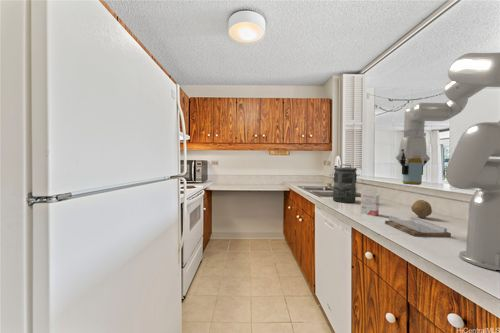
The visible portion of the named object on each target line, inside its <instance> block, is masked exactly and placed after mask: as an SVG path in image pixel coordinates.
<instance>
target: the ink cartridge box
mask: <svg viewBox="0 0 500 333" xmlns="http://www.w3.org/2000/svg"><path fill="white" fill-rule="evenodd" d="M379 208H380V194H377V189H371V188H361V193H360V214H363V215H367V216H368V215H370V216H374V217H376V216H379V213H380V212H379V211H380V210H379Z"/></svg>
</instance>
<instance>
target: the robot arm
mask: <svg viewBox="0 0 500 333" xmlns="http://www.w3.org/2000/svg"><path fill="white" fill-rule="evenodd" d="M447 76H448V79H449V81H448V82H447V83H446V84H445V86H444V89H443V91H444V95H445V96H446V98H447V99H449V100H447V101H445V102H419V103H417V104H415V105H413V106H412V107H409V108H407V109H405V110H404V118H403V119H404V124H403V126H404V127H403V128H404V129H403V137H402V138H401V140H400V144H399V151H398V154H397V156H395V159H396V160H397V162H398V163H399V164H400V166H401V175H403V174H405V175H408V168H409V166H407V165H408V161H409V160H410V159H412V157H413V156H412V155H413V151H421V160H422V176H423V175H424V167H426V166H425V165H426V164H427V163H428V161H430V160H431V157H430V156H429V155H428V154H427V153H428V152H427V151H428V150H427V141H426V138H425V136H426V135H427V134H426V132H425V122H444V121H445V122H446V121H448V120H450V119H452V118H453V117H455V116H457V115H458V114H460V113H462V112H463V110H464V109H465V107H467V104H468V101H469V99H470V98H471V97H473V96H475V95H476V94H478V93H479V92H481V91H482V90H484V89H486V88H500V52H467V53H465V54H462V55H461V56H458V57H457V58H456V59H455V60H453V62H452V63H451V64H450V66H449V69H448V72H447ZM492 157H493V158H492ZM405 158H406V159H405ZM405 160H406V161H405ZM445 178H446V181H447V183H448V184H449V185H450V186H451V187H453V188H455V189H458V190H468V191H469V190H470V191H471V190H472V191H475V192H474V193H473V194H472V195H471V197H470V200H469V205H468V207H469V208H468V220H467V234H466V236H467V237H466V248H465V250H462V251H460V252H459V254H458V256H459V258H460V259H462V260H464V261H465V262H467V263H469V264H472V265H474V266H477V267H480V268H485V269H488V270H492V271H496V270H500V120H498V121H497V122H495V121H492V122H491V121H485V122H479V123H475V124H473V125H471V126H469V127H468V128H467V129H465V131H464V132H463V133H462V134H461V136H460V138H459V140H458V142H457V144H456V146H455V148H454V151H453V152H452V154H451V157H450V160H449V161H448V163H447V166H446V169H445Z"/></svg>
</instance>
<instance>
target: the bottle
mask: <svg viewBox="0 0 500 333" xmlns="http://www.w3.org/2000/svg"><path fill="white" fill-rule="evenodd" d="M412 156H413V157H412V159H410V160H409V161H408V165H407V166H409V168H408V175H405V174H402V183H403V185H410V186H412V185H415V186H420V185H422V180H423V179H422V178H423V175H422V160H421V151H413V155H412ZM405 159H406V158H405ZM405 161H406V160H405Z"/></svg>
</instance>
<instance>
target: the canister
mask: <svg viewBox="0 0 500 333" xmlns="http://www.w3.org/2000/svg"><path fill="white" fill-rule="evenodd" d="M342 166H344V164H340V165H339V167H338V166H335V167H334V168H333V170H334V172H333V188H332V189H333V190H332V200H333V201H334V202H337V203H342V204H346V203H347V204H351V203H352V204H354V203H356V197H357V194H356V193H357V188H356V184H357V177H358V174H357V171H358V169H357V168H356V167H352V166H351V164H346V167H342ZM347 166H349V167H347Z"/></svg>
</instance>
